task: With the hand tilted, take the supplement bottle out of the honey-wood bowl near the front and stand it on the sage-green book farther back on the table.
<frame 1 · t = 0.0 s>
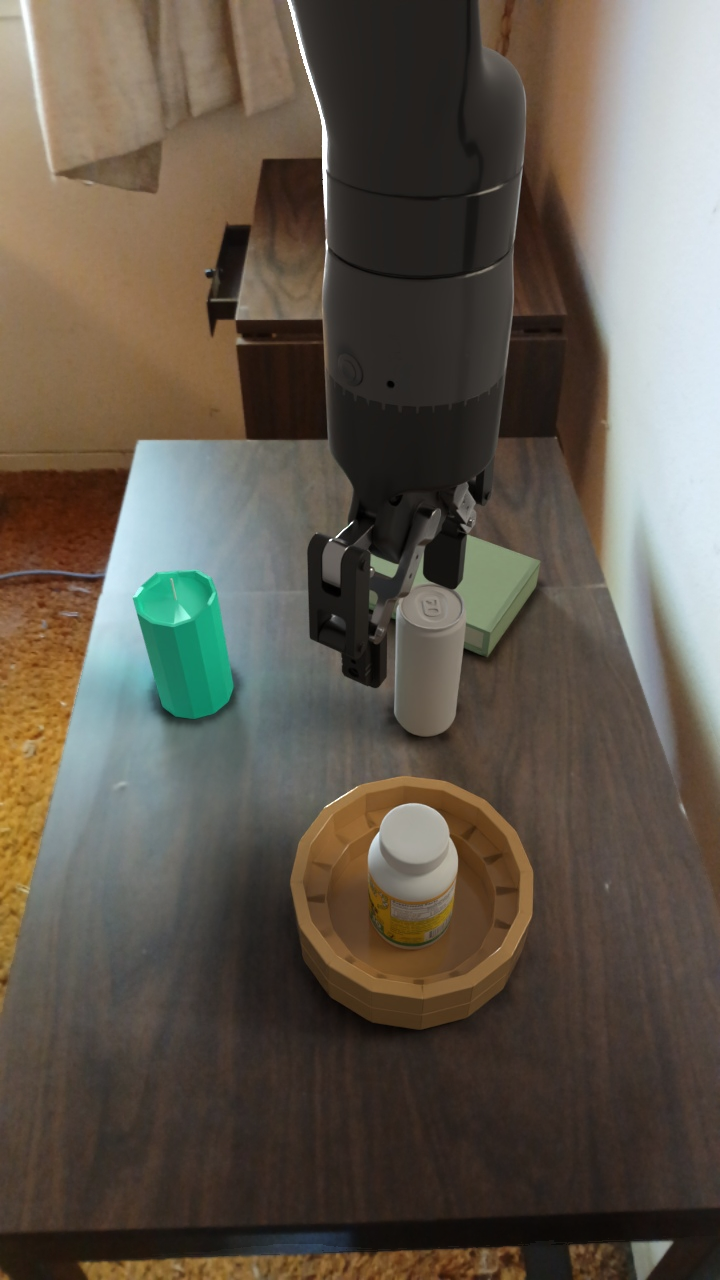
hand: (405, 627, 48), 20 cm above the table, tool pointing down, fingers open, 8 cm apart
candle: (196, 691, 71), on the table
supplement bottle: (409, 913, 58), resting on bowl
book: (445, 594, 78), on the table
bowl: (409, 914, 58), on the table
beverage can: (424, 717, 69), on the table
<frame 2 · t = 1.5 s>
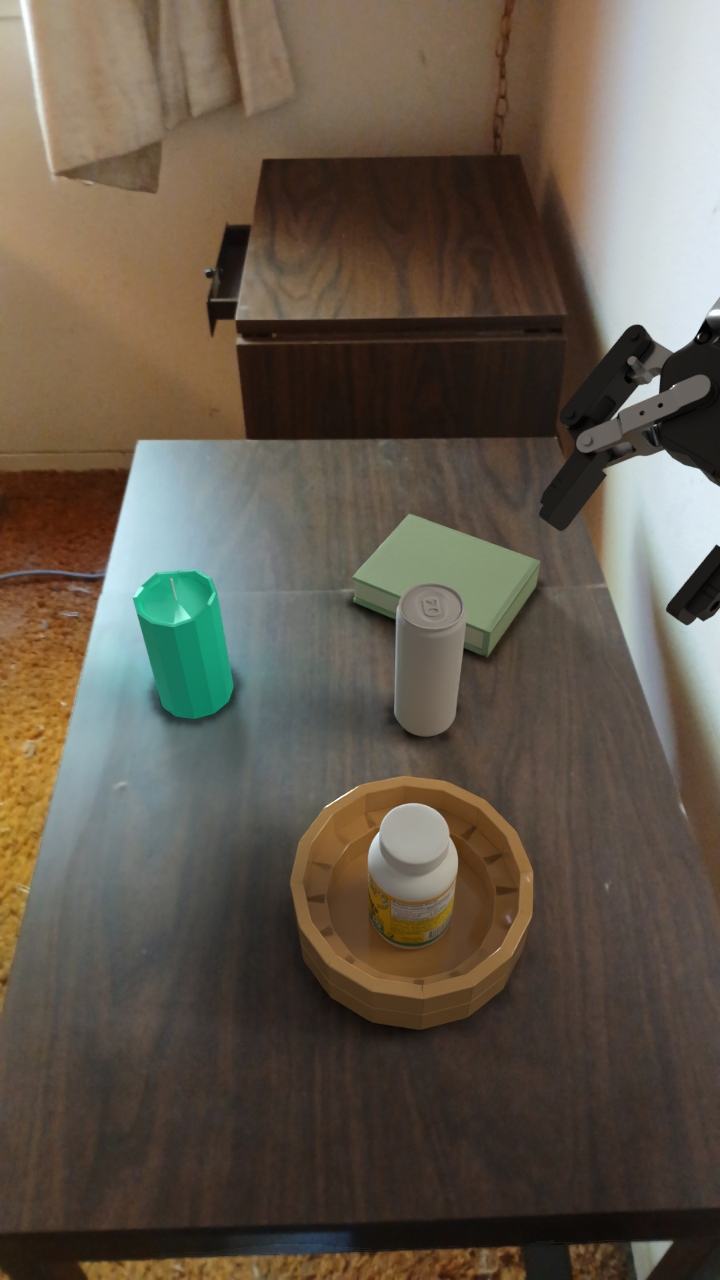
hand: (609, 569, 44), 25 cm above the table, tool tilted 45°, fingers open, 8 cm apart
nothing on the table moved.
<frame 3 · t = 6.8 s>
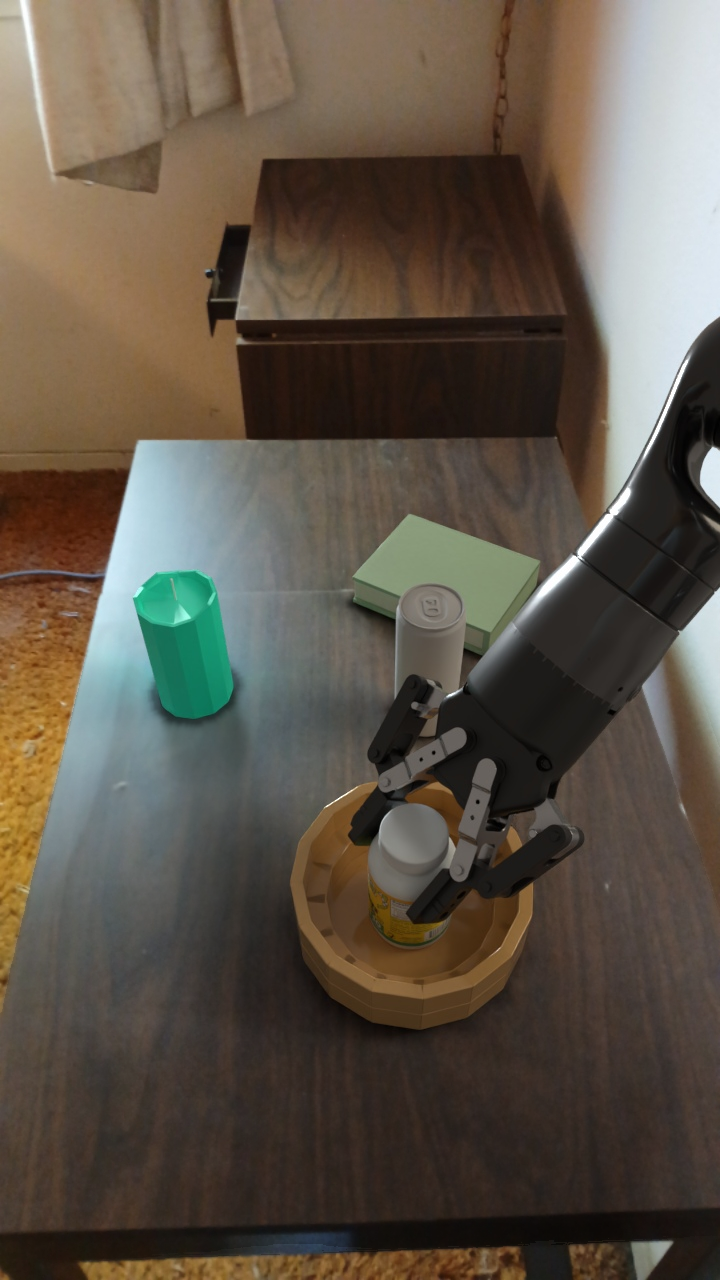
hand: (388, 878, 52), 7 cm above the table, tool tilted 45°, fingers closed on supplement bottle, 5 cm apart
supplement bottle: (409, 913, 58), resting on bowl, touching gripper
everything else where it was.
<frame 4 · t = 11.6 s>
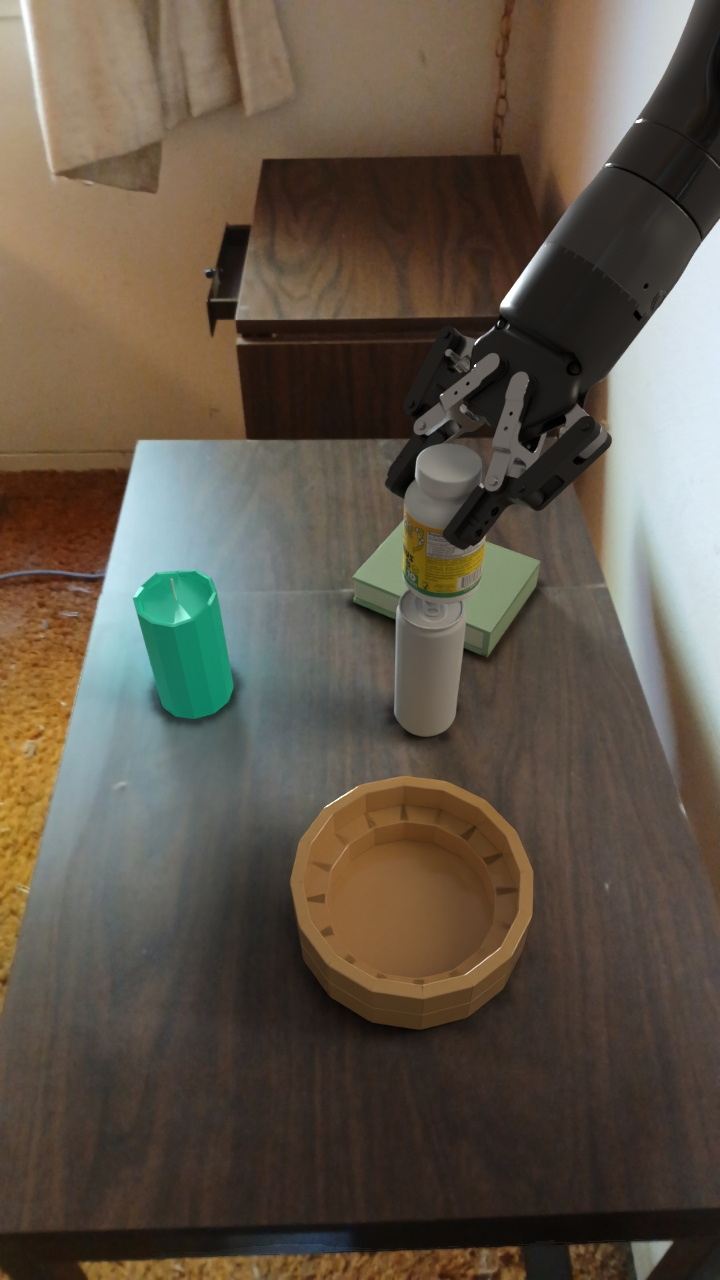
hand: (424, 517, 55), 19 cm above the table, tool tilted 45°, fingers closed on supplement bottle, 5 cm apart
supplement bottle: (441, 581, 61), point 13 cm above the table, touching gripper
everything else where it was.
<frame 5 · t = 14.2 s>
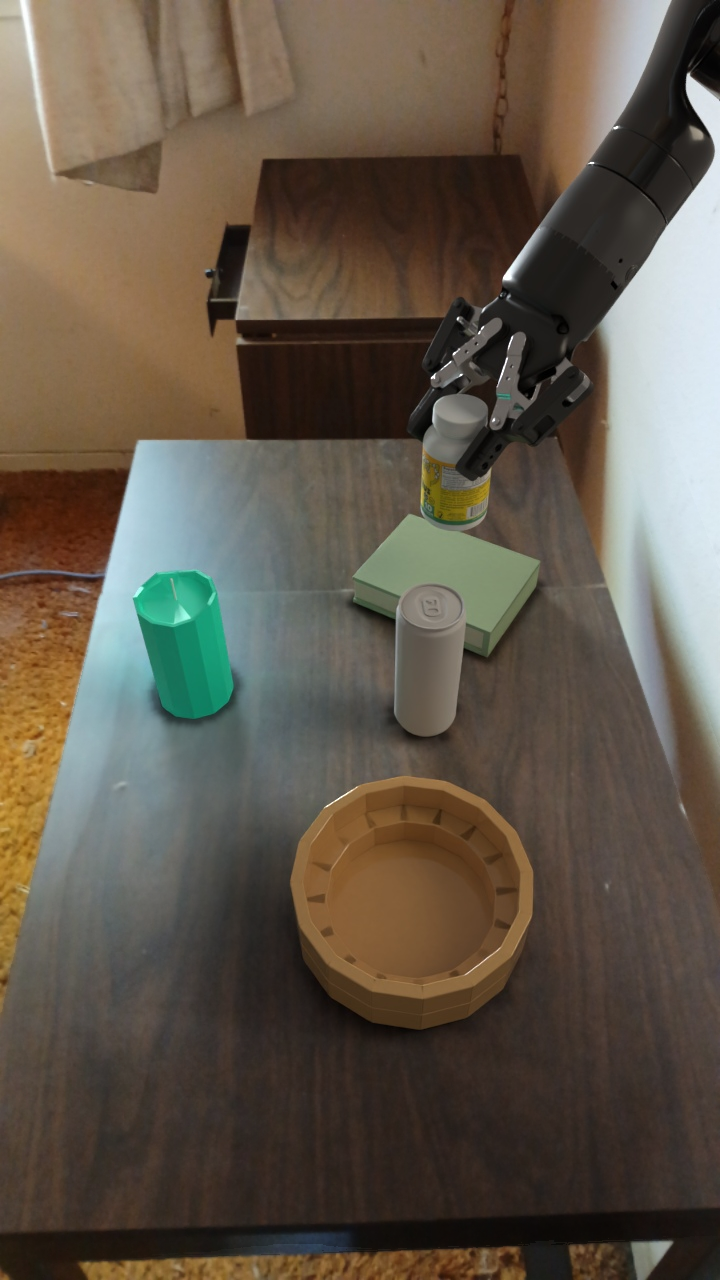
hand: (439, 455, 67), 15 cm above the table, tool tilted 45°, fingers closed on supplement bottle, 5 cm apart
supplement bottle: (453, 514, 72), point 9 cm above the table, touching gripper
everything else where it was.
when the fingers open (9 cm above the table, at t = 16.4 s): supplement bottle stays where it is, resting on book.
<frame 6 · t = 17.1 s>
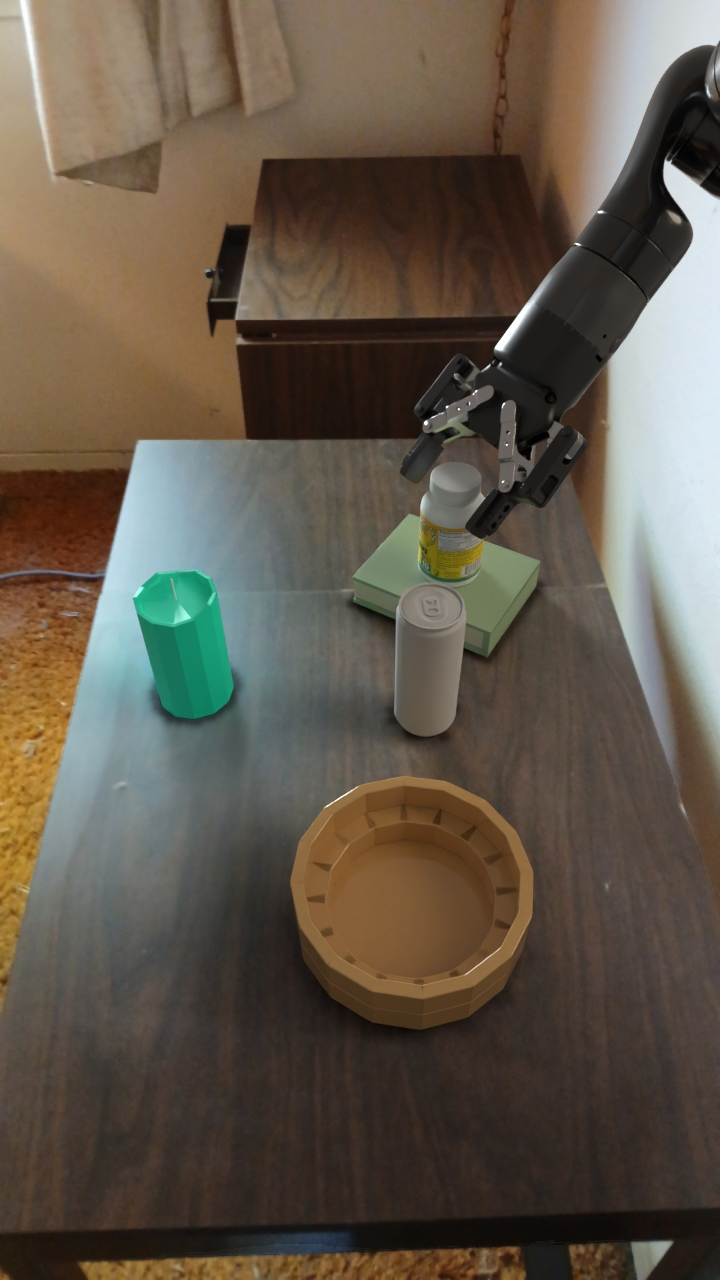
hand: (439, 505, 70), 10 cm above the table, tool tilted 45°, fingers open, 8 cm apart
supplement bottle: (448, 570, 76), point 3 cm above the table, touching book
everything else where it was.
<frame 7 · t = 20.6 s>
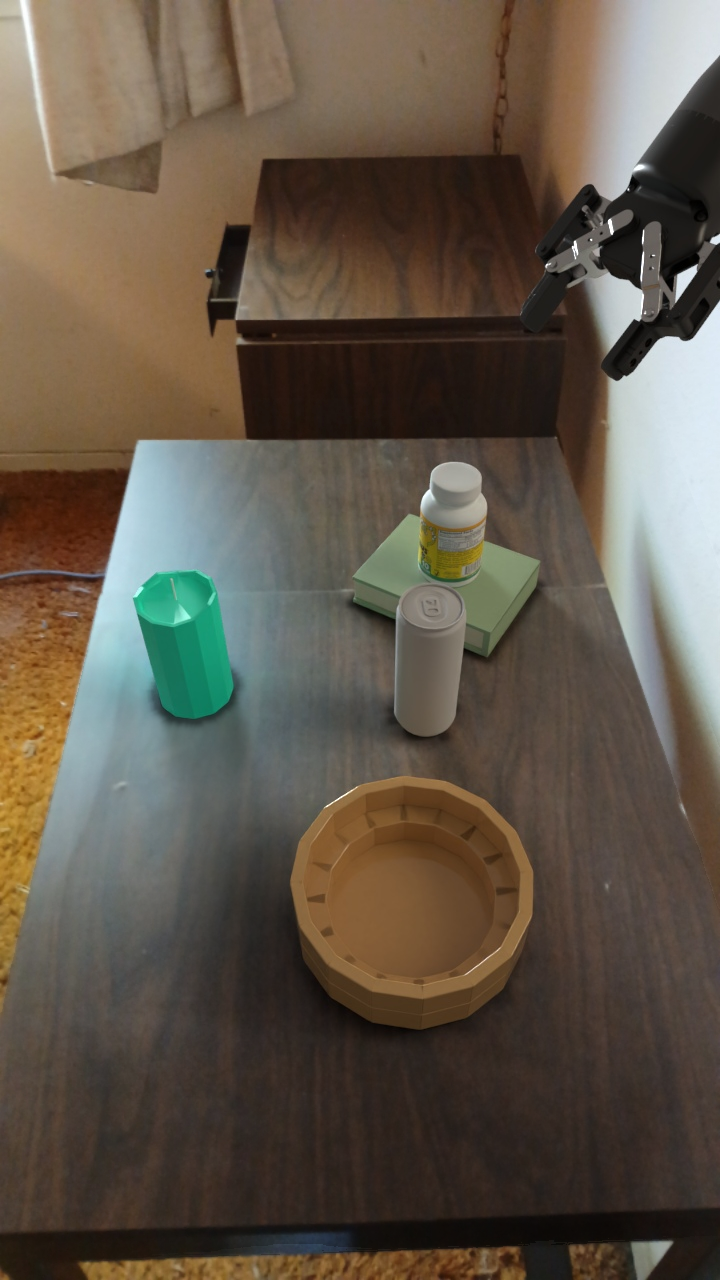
hand: (566, 349, 64), 22 cm above the table, tool tilted 45°, fingers open, 8 cm apart
nothing on the table moved.
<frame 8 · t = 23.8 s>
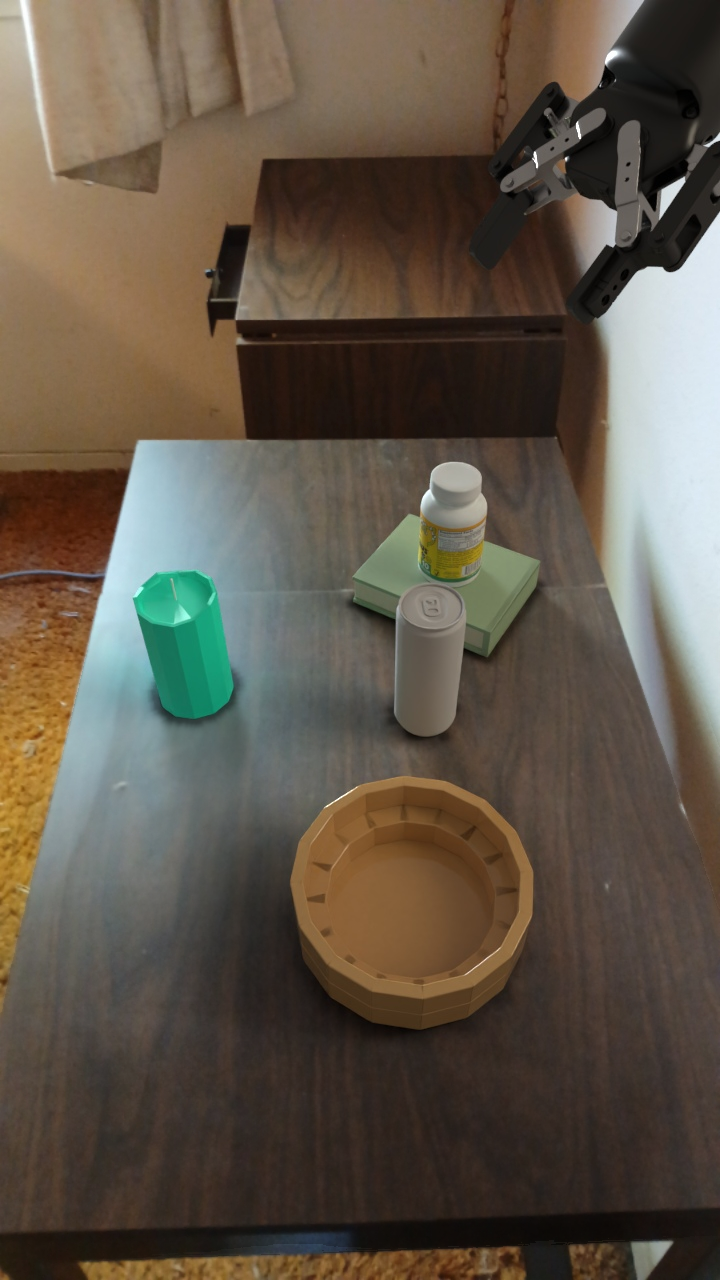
hand: (524, 287, 52), 31 cm above the table, tool tilted 45°, fingers open, 8 cm apart
nothing on the table moved.
at the end: supplement bottle inside the target area on the book (0.1 cm from its centre), point 2.8 cm above the book's base; supplement bottle tilted 0°; the gripper is holding nothing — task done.
